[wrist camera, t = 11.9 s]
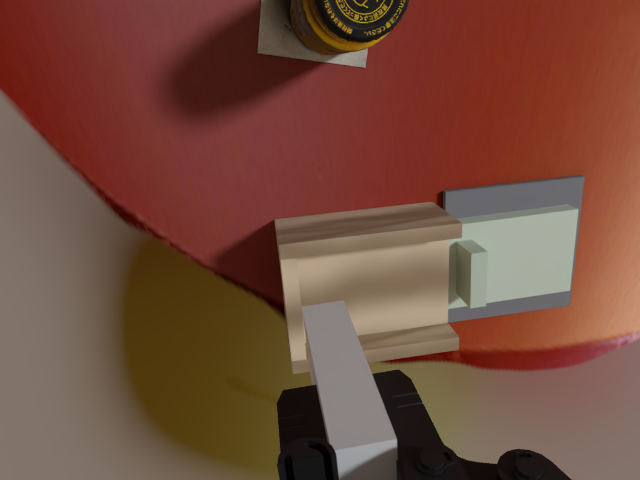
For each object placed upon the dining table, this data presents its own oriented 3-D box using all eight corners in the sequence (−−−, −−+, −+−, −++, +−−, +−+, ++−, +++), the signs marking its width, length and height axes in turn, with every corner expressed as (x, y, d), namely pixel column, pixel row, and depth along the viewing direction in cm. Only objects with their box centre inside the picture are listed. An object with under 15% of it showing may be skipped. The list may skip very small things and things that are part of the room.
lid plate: (440, 220, 42) (462, 237, 38) (567, 204, 43) (601, 218, 39) (440, 301, 45) (460, 325, 41) (559, 283, 46) (591, 305, 42)
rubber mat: (443, 190, 42) (445, 192, 41) (580, 175, 43) (584, 176, 43) (441, 320, 46) (443, 323, 46) (565, 302, 48) (569, 305, 47)
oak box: (274, 219, 41) (278, 244, 35) (432, 201, 42) (462, 223, 36) (287, 333, 44) (293, 374, 38) (431, 313, 46) (458, 349, 40)
